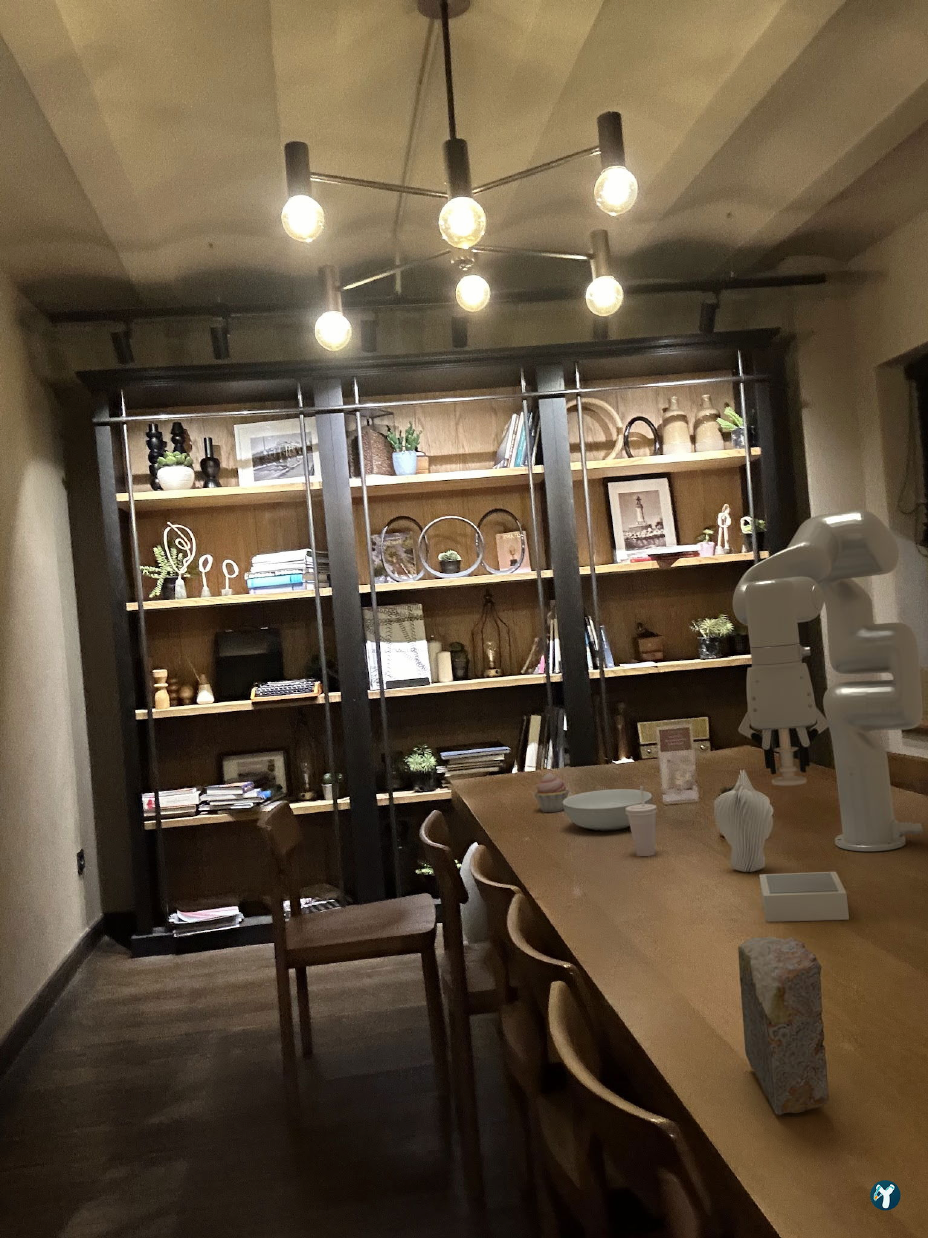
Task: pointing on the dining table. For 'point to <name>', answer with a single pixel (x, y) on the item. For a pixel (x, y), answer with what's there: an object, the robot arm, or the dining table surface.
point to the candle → (787, 761)
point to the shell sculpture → (744, 823)
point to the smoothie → (643, 826)
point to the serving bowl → (603, 808)
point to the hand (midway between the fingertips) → (788, 771)
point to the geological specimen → (784, 1022)
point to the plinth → (803, 897)
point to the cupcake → (551, 793)
